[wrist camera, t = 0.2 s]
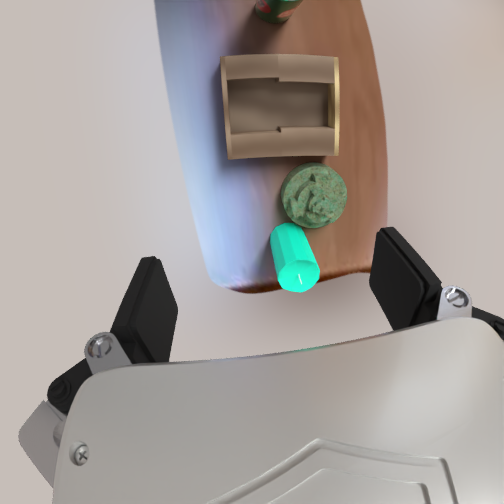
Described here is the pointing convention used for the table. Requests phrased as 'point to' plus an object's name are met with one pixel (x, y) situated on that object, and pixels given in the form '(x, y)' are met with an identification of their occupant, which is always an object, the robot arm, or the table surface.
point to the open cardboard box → (280, 105)
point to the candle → (293, 258)
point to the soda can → (276, 9)
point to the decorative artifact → (313, 195)
